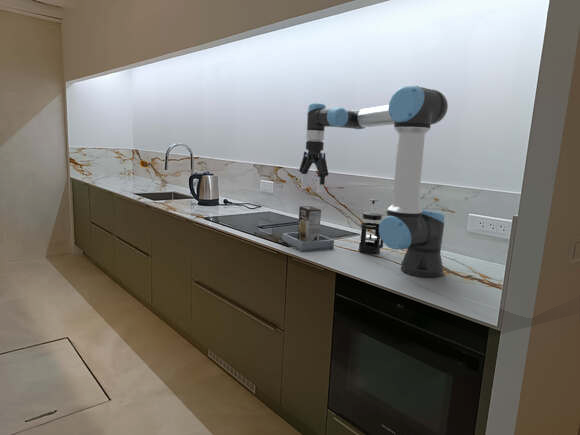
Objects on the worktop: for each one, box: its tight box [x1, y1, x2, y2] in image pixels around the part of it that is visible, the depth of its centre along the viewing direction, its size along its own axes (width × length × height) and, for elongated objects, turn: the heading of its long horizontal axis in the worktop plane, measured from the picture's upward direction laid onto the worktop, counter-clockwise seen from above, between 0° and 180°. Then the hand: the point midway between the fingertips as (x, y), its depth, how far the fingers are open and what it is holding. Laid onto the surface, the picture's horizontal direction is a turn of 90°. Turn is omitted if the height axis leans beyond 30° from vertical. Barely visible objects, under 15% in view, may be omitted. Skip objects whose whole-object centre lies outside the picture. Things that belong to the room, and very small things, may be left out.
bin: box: [282, 231, 335, 253], centre depth 183 cm, size 18×16×4 cm
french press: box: [357, 198, 384, 255], centre depth 175 cm, size 12×9×23 cm
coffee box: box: [297, 205, 322, 242], centre depth 181 cm, size 9×6×16 cm
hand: (312, 190), depth 179 cm, fingers open, 13 cm apart
